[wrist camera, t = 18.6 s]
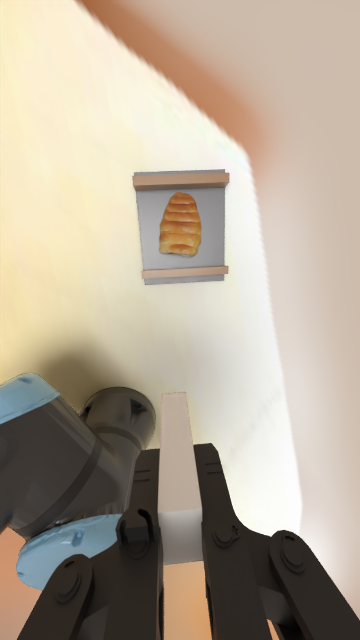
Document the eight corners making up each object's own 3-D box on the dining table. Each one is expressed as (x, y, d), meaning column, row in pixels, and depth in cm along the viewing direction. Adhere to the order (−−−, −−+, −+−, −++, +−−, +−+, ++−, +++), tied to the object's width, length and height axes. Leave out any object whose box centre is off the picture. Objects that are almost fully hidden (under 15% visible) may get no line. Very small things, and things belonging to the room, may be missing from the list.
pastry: (161, 193, 33) (160, 184, 29) (203, 197, 34) (208, 189, 30) (158, 255, 36) (158, 255, 32) (198, 258, 36) (202, 258, 32)
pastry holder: (145, 284, 37) (143, 286, 34) (134, 174, 33) (131, 165, 30) (223, 280, 38) (228, 281, 35) (223, 171, 33) (229, 162, 30)
